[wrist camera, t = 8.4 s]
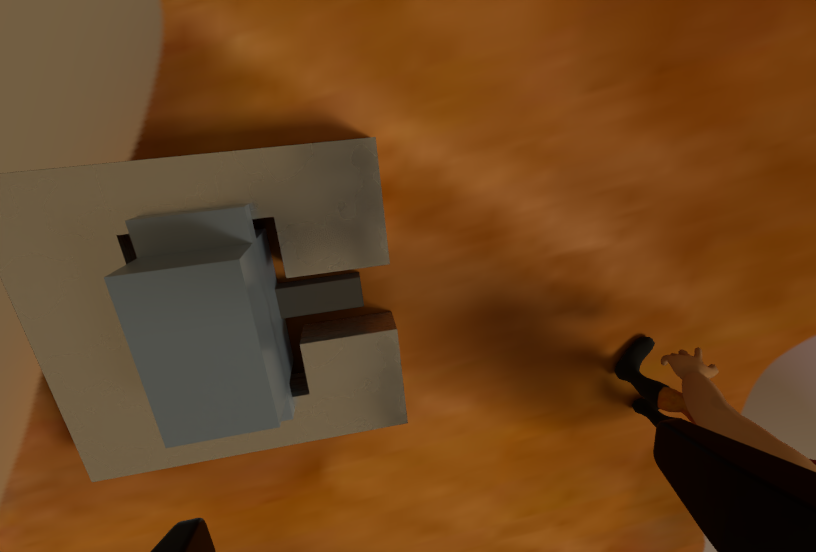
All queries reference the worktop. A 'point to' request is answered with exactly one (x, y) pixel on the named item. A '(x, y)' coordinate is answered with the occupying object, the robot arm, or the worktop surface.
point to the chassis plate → (112, 249)
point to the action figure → (697, 400)
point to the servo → (214, 322)
